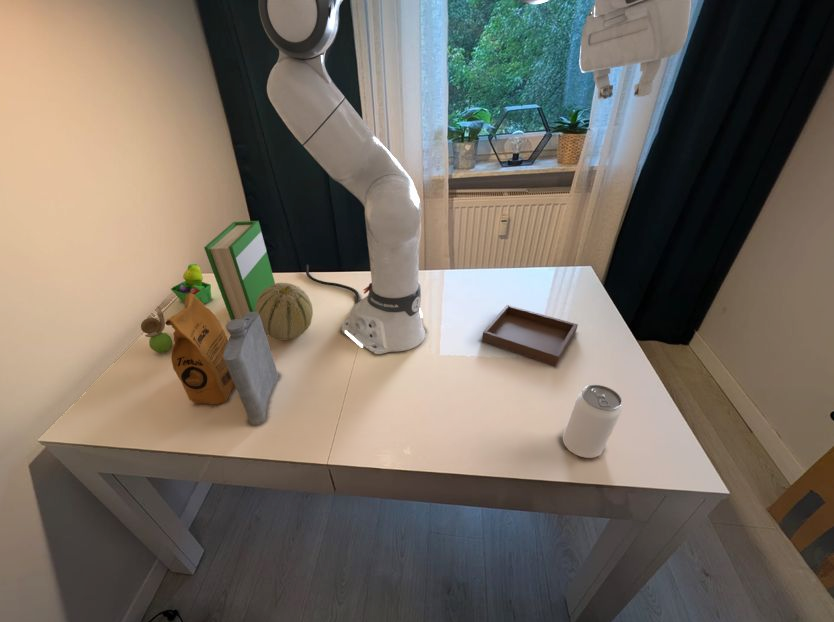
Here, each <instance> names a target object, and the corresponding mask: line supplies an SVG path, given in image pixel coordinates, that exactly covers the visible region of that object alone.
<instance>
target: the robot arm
mask: <svg viewBox="0 0 834 622" xmlns="http://www.w3.org/2000/svg"><path fill="white" fill-rule="evenodd" d="M343 1H344V0H258V12H259V16H260V21H261V24H262V27H263V29H264V31H265V33H266V36H267V37H268V39H269V40H270V41H271V43H272V44H273V46H274V47H276V49H278V53H279V54H278V59H277V62H276V63H275V64H274V66H273V67H272V69H271V70H270V73H269V75H268V78H267V83H266V93H267V97H268V99H269V101H270V103H271V105H272V106H273V108H274V109H275V111H276V113H277V114H278V116H279V117H280V118H281V120H282V122H283V123H284V124H285V125H286V127H287V129H288V130H289V131H290V132H291V133H292V135H293V136H294V137H295V139H296V140H297V141H298V142H299V143H300V145H301V146H303V147H304V149H305V150H306V151H307V152H308V153H309V154H310V155H311V156H312V158H313V159H314V160H315V161H316V162H317V163H318V164H319V165H320V167H321V168H322V169H323V170H324V171H325V172H326V174H328V175H329V177H330V178H331V179H332V180H334V181H335V182H337V183H339V184H340V185H342V186H343V187H344V188H345V189H346V190H347V191H348V192H349V193H351V194H352V195H353V196H354V197H355V198H357V200H358V201H359V203H361V204H362V206H363V207H364V220H365V230H366V239H367V248H368V258H369V267H370V279H371V282H370V283H369V284H368V285H367V286H366V287H365V288H364V289H362V291H363V294H364V295H365V294H368V295H366V296H365V297H363V298H361V297H360V294H359V291H358V290H357V289H356V288H353V287H351V286H348V285H345V284H343V283H337V282H331V281H323V280H321V279H318V278H315V277H313V276H311V274H310V269H309V267H310V265H309V264H308V263H307V264H306V265H305V274H306V276H307V278H308V279H309V280H311V281H313V282H315V283H318V284H321V285H323V286H324V285H325V286H331V287H338V288H342V289H345V290H347V291H351V292H352V293H353V294H355V299H356V302H355V304H354V305H352V307H351V309H350V311H349V317H348V318H347V319H346V320H345V321H344V322H343V324H342V326H341V332H342V333H343V334H344V335H345V336H347V337H349V338H350V339H351V340H352V341H353V342H354V343H356V344H357V345H358V346H359V347H360V348H366V349H367V350H368V351H370V352H372V353H373V354H375V355H383V354H386V353H390V352H391V353H392V352H395V353H397V352H405V351H409V350H412V349H415V348H416V347H418V346H419V345H421V344H422V343H423V341H424V340H425V338H426V331H425V327H424V325H423V322H422V318H423V317H424V315H423V312H422V310H421V300H422V292H421V291H422V290H421V283H420V281H419V280H420V246H421V236H422V218H423V217H422V216H423V208H422V207H423V206H422V202H421V200H420V197H419V193H418V191H417V189H416V186H415V184H414V181H413V179H412V177H411V176H410V175H409V173H408V172H407V171H406V170H405V169H404V168H403V166H402V165H401V163H400V162H399V161H398V160H397V158H395V157H394V156H393V155H392V153H391V152H390V151H389V150H388V148H387V147H385V145H384V144H383V143H382V142H381V141H380V139H379V138H378V137H377V136H376V135H375V133H374V132H372V130H371V129H370V128H369V126H368V125H367V123H366V122H365V121H364V119H363V118H362V117H361V115H359V113H358V112H357V111H356V110H355V108H354V107H353V106H352V104H351V103H350V102H349V101H348V99H347V98H346V97H345V95H344V94H343V93H342V91H341V90H340V89H339V88H338V87H337V85H336V84H335V83H334V81H333V80H332V78H331V77H330V75H329V73H328V71H327V69H326V62H327V59H328V56H329V55H330V52H331V50H332V47H333V45H334V43H335V41H336V39H337V36H338V32H339V27H340V19H341V18H340V17H341V16H340V5H341V4H342V2H343ZM520 1H521V2H524V3H525V4H528V5H539V4H543V3H545V2H548V1H549V0H520ZM691 9H692V0H594V4H593V6H592V7H591V8H590V10H589V13H588V15H587V16H586V18H585V24H584V25H583V27H582V31H581V38H580V47H579V49H580V50H579V69H580V71H581V73H582V74H586V73H591V72H593V80H594V84H595V86H596V88H597V99H598V100H606V99H609V98H612V97H613V94H614V92H613V90H614V84H611V81H610V77H609V75H610V74H611V69H613V68H619V67H620V68H621V67H625V66H631V65H636V64H640V66H639V71H640V72H642V73H641V75H640V78H639V81H638V83H637V84H634V93H633V94H634V95H633V96H634V97H635V98H640V97H641V98H643V97H645V96H649V95H650V94H651V93H652V91H653V83H654V80H655V77H656V75H657V74H658V73H659V69H660V67H661V66H662V65H661V63H662V60H663V59H665V58H669V57H671V56H674V55H676V54H678V53H680V52H681V50H682V49H683V47H684V45H685V43H686V41H687V37H688V33H689V27H690V19H691V11H692V10H691Z"/></svg>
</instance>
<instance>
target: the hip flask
mask: <svg viewBox="0 0 834 622" xmlns="http://www.w3.org/2000/svg"><path fill="white" fill-rule="evenodd" d="M225 329H226V331H227V332H228V333H229V338H228V342H227V345H226V347H225V351H224V355H223V358H224V361H225V363H226V365H227V368H228V370H229V373H230V375H231V377H232V380H233V382H234V385H235V387H234V388H235V389H236V392H237V394H238V396H239V399H240V402H241V403H242V406H243V408H244V411H245V413H246V416H247V417H248V420H249V423H250V424H251V425H253V426H259V425H261V424H263V423H264V422H265V420H266V416H267V415H266V413H267V406H268V403H269V400H270V397H271V393H272V391H273V389H274V386H275V385H276V383H277V381H278V380H279V377H280V376H279V373H278V370H277V366H276V363H275V359H274V356H273V353H272V351H271V348H270V344H269V341H268V338H267V334H266V333H265V331H264V328H263V325H262V322H261V318H260V315H259V313H258V312H249V313H247V314H246V315H245V316H244V317H243V318H242V319H234V320H231V319H230V321H227V323H226V324H225Z"/></svg>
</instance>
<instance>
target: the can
mask: <svg viewBox="0 0 834 622" xmlns="http://www.w3.org/2000/svg"><path fill="white" fill-rule="evenodd" d="M622 399H623V398H622V397H621V396H620V394H619V393H618V392H617V391H615V390H614V389H612V388H611V387H607V386H605V385H600V384H590V385H587V386H585V387H584V388H583V389H582V391H580V393H578V395H577V396H576V399H575V401H574V404H573V407H572V409H571V411H570V415H569V418H568V421H567V423H566V426H565V428H564V432H563V434H562V442H563V444H564V446H565V448H567V450H568V451H569V452H571V453H572V454H573V455H575V456H578V457H579V458H580V457H581V458H584V459H585V458H586V459H593V458H596V457H599V456H600V455H601V454H602V452H603V451H604V450H605V447H606V445H607V443H608V441H609V439H610V437H611V435H612V433H613V431H614V429H615V427H616V424H617V422H618V420H619V418H620V416H621V414H622V409H623V408H622V405H623V400H622Z"/></svg>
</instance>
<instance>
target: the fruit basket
mask: <svg viewBox="0 0 834 622" xmlns="http://www.w3.org/2000/svg"><path fill="white" fill-rule="evenodd" d="M182 278H183V280H184V281H182V282H180V283H178V284H177V285H174V286H172V287H171V288H170V290H171V291H172V292H173V293H174V294H175V296H176V297H177V298H178V299H179V300H180V301H181V302H182V303H185V296H186V295H187V294H189V293H192V294H193V295H194V296H195V297H196V298H197V299H199V300H200V301H201V302H202V303H203V304H204V305H205V304H207V303H209V302H210V301H212V290H211V289H212V284H211V283H208V282H204V281H203V274H202V272H201V267H199V266H198V264H197V263H190V264H188V265H187V270H185V271H184V273H183V277H182Z"/></svg>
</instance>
